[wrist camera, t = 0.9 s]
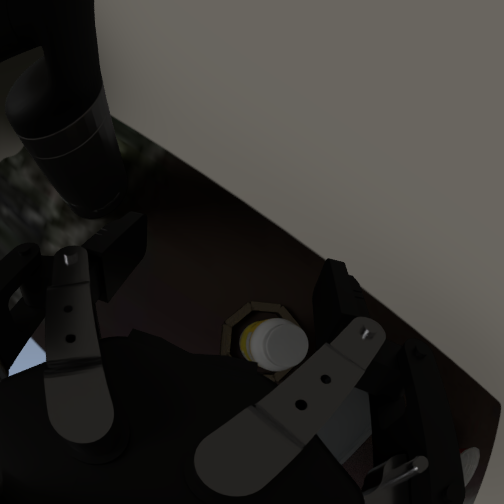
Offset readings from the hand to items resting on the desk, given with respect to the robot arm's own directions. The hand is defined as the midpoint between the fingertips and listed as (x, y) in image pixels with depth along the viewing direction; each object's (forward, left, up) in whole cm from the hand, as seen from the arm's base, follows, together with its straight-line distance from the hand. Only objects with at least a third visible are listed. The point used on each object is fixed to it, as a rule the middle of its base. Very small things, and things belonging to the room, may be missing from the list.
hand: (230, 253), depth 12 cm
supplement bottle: (+8, +2, -22) cm, 24 cm away
